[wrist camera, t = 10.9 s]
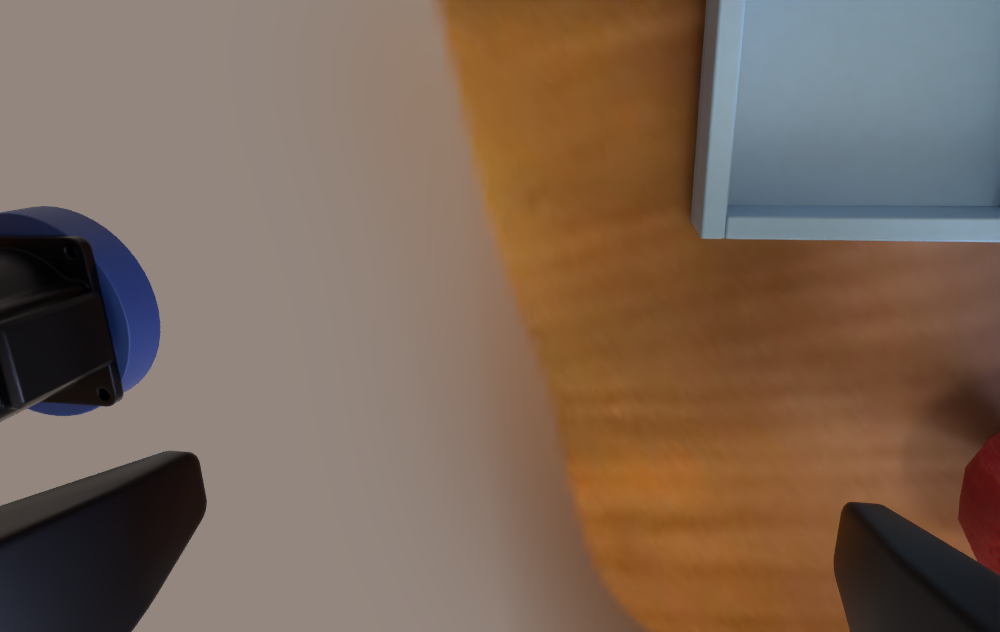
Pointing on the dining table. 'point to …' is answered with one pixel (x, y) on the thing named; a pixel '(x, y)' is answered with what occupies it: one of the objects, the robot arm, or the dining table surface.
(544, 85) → the dining table surface
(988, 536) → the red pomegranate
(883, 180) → the divided blue tray
